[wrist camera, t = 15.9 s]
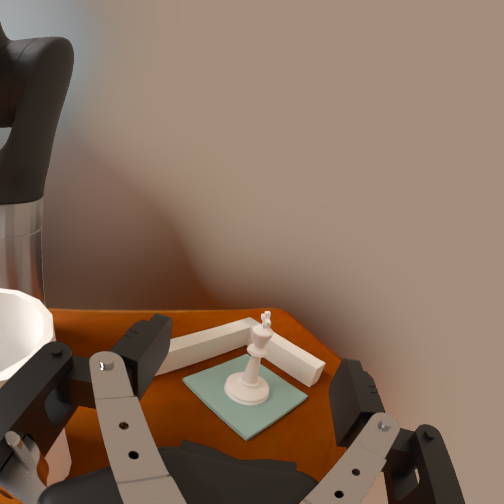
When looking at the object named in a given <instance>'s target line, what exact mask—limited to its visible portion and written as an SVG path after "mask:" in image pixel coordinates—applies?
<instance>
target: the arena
mask: <svg viewBox="0 0 504 504" xmlns="http://www.w3.org/2000/svg"><path fill="white" fill-rule="evenodd" d="M256 325H262V324H260V323H258V322H257V321H255V320H254V319H252V318H251V317H249V318H246V319H242V320H239V321H236V322H232V323H229V324H225V325H222V326H218V327H215V328H211V329H208V330H204V331H200V332H196V333H193V334H189V335H185V336H181V337H177V338H173V339H170V348H169V352H168V354H167V357H166V358H165V360H164V362H163V363H162V365H161V367H160V368H159V370H158V372H157V373H156V375H155V376H157V375H160V374H164V373H167V372H170V371H173V370H176V369H180V368H183V367H186V366H189V365H192V364H195V363H198V362H201V361H203V360H206V359H209V358H212V357H215V356H218V355H220V354H223V353H226V352H229V351H231V350H234V349H237V348H239V347H242V346H245V345H247V346H249V345H250V344H253V343H254V338H253V327H254V326H256ZM265 347H266V348H267V349H268V355H267V356H266V357H264V358H265V359H267V360H268V361H270V362H271V363H273V364H274V365H275V366H277V367H278V368H280V369H281V370H283V371H284V372H286V373H287V374H289V375H290V376H292V377H294V378H295V379H297V380H298V381H300V382H301V383H303V384H304V385H306V386H308V387H311V386H312V385H313V384H315V383H316V382H317V381H318V379H319V377H320V375H321V373H322V370H323V368H324V365H325V363H324V362H323V361H321V360H319V359H318V358H316V357H314V356H312V355H311V354H309V353H307V352H306V351H304V350H302V349H301V348H299V347H297V346H296V345H294V344H292V343H291V342H289V341H287V340H286V339H284V338H282V337H281V336H279V335H278V334H276V333H274V332H273V336H272V337H271V339H270V340H269V341H268V342H267V344H266V345H265ZM250 357H251V356H249V355H248V354H245V355H242V356H240V357H237V358H235V359H232V360H230V361H227V362H225V363H222V364H220V365H217V366H214V367H212V368H209V369H206V370H204V371H201V372H198V373H195V374H193V375H190V376H187V377H184V378H183V380H182V381H183V382H184V383H185V384H186V385H187V386H188V388H189V389H190V390H191V391H192V392H193V393H194V394H195V395H196V396H197V397H198V398H199V399H200V400H202V401H203V402H204V403H205V404H206V405H207V406H208V407H209V408H210V409H211V410H212V411H213V412H214V413H215V414H216V415H217V416H218V417H219V418H221V419H222V420H223V421H224V422H225V423H226V424H227V425H228V426H229V427H231V428H232V429H233V430H234V431H235V432H236V433H238V434H239V435H240V436H241V437H242V438H243V439H245V440H246V441H247V440H249V439H250V438H252V437H253V436H255V435H256V434H258V433H259V432H261V431H262V430H264V429H265V428H267V427H268V426H270V425H271V424H273V423H274V422H276V421H277V420H279V419H280V418H281V417H283V416H284V415H286V414H287V413H288V412H290V411H291V410H293V409H294V408H295V407H297V406H298V405H299V404H301V403H302V402H303V401H304V400H306V399H307V397H308V395H306V394H305V393H303V392H301V391H300V390H298V389H297V388H295V387H294V386H292V385H291V384H289V383H288V382H286V381H285V380H283V379H282V378H280V377H279V376H278V375H276V374H275V373H273V372H272V371H270V370H269V369H267V368H266V367H265V366H263V365H262V364H260V366H259V374H258V376H260V377H261V378H263V379H264V380H265V381H266V382H267V384H268V386H269V396H268V398H267V400H266V401H265V402H263V403H261V404H259V405H253V406H249V405H243V404H239V403H237V402H235V401H233V400H232V399H230V398H229V397H228V396H227V394H226V392H225V390H224V385H225V382H226V380H227V378H228V377H229V376H230V375H232V374H234V373H238V372H244V371H245V369H246V367H247V365H248V362H249V360H250Z"/></svg>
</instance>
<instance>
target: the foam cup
mask: <svg viewBox="0 0 504 504" xmlns="http://www.w3.org/2000/svg"><path fill="white" fill-rule="evenodd" d="M54 341H56V338H55V331H54V324H53V316H52V314H51V313H50V312H49V311H48V310H47V308H46V307H45V306H44V305H43V304H42V303H41V301H40V300H39V299H36V298H34V297H32V296H29V295H27V294H25V293H23V292H21V291H18V290H10V289H2V288H0V388H1V387H2V386H3V385H4V384H5V383H6V382H7V381H8V380H9V379H10V378H11V377H12V376H13V375H14V374H15V373H16V372H17V371H18V370H19V369H20V368H21V367H22V366H23V365H24V364H25V363H26V362H27V361H28V360H29V359H30V358H31V357H32V356H33V355H34V354H35V353H36V352H37V351H38V350H39V349H40V348H41V347H42V346H44V345H45V344H47V343H49V342H54ZM45 459H46V461H47V463H48V465H49V474H48V477H47V487H48V486H50V485H52V484H54V483H56V482H60V481H63V480H64V479H65V478H66V477H67V476H68V475H69V471H70V467H71V462H72V461H71V456H70V452H69V448H68V443H67V439H66V434H65V429H63V430H62V432H61V433H60V435H59V436H58V438H57V439H56V441H55V442H54V444H53V445H52V447H51V449H50V450H49V452H48V453H47V455H46V456H45Z"/></svg>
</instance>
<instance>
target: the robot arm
mask: <svg viewBox="0 0 504 504" xmlns="http://www.w3.org/2000/svg"><path fill="white" fill-rule="evenodd" d="M73 64H74V51H73V47H72V44H71V43H70V41H69V40H67V39H65V38H63V37H44V38H32V39H24V40H16V41H12V40H9V39H8V38H7V37H6V35H5V33H4V31H3V29H2V26H1V23H0V128H5V127H12V129H11V132H10V135H9V138H8V140H7V142H6V144H5V145H4V147H3V148H2V149H1V150H0V288H2V289H10V290H18V291H21V292H23V293H25V294H27V295H29V296H32V297H34V298H36V299H39V300H40V301H41V303H42V304H43V305H44V306H45V298H44V286H43V271H42V208H43V196H44V184H45V179H46V175H47V170H48V167H49V161H50V157H51V151H52V146H53V141H54V136H55V132H56V128H57V124H58V120H59V117H60V113H61V110H62V107H63V103H64V100H65V97H66V94H67V90H68V87H69V83H70V79H71V75H72V70H73ZM171 329H172V318H171V317H167V316H164V315H161V314H158V313H156V314H155V315H154V316H153V317H152V318H151V319H150V321H149V322H148V321H145V320H142V321H139V322H137V323H135V324H134V325H133V326H132V327H131V328H130V329H129V331H127V332H126V333H125V335H124V336H123V337H122V338H121V339H120V340H119V341H118V342H117V343H116V344H115V345H114V346H113V347H112V349H111V350H110V351H109V352H108V351H103V352H98V353H96V354H94V355H93V356H92V357H91V358H84V357H79V356H74V355H72V351H71V348H70V347H69V346H68V345H67V344H65V343H63V342H58V341H54V342H49V343H47V344H45V345H44V346H42V347H41V348H40V349H39V350H38V351H37V352H36V353H35V354H34V355H33V356H32V357H31V358H30V359H29V360H28V361H27V362H26V363H25V364H24V365H23V366H22V367H21V368H20V369H19V370H18V371H17V372H16V373H15V374H14V375H13V376H12V377H11V378H10V379H9V380H8V381H7V382H6V383H5V384H4V385H3V386H2V387H1V388H0V493H1V494H2V495H3V496H5V497H7V498H10V499H15V500H16V501H18V502H19V503H20V504H360V502H361V500H363V498H364V497H365V495H366V494H367V492H368V491H369V489H370V488H371V486H372V484H373V483H374V481H375V480H376V478H377V476H378V475H379V473H380V471H381V472H384V478H385V484H386V490H387V497H388V504H465V501H464V498H463V495H462V492H461V489H460V485H459V482H458V480H457V477H456V473H455V470H454V468H453V465H452V462H451V459H450V457H449V454H448V451H447V449H446V446H445V444H444V441H443V439H442V436H441V434H440V432H439V431H438V430H437V429H436V428H435V427H433V426H430V425H426V424H424V425H420V426H419V427H418V428H417V429H416V430H415V432H414V431H410V430H406V429H402V428H400V425H399V423H398V421H397V420H396V419H395V418H394V417H393V416H391V415H389V414H387V413H385V410H384V407H383V404H382V402H381V399H380V396H379V394H378V391H377V388H376V385H375V383H374V380H373V378H372V377H371V376H370V375H369V374H368V373H367V372H364V371H363V369H362V366H361V363H360V361H358V360H353V359H346V358H344V359H343V360H342V361H341V363H340V365H339V367H338V369H337V371H336V373H335V375H334V377H333V379H332V381H331V384H330V387H329V399H330V405H331V411H332V417H333V424H334V430H335V437H336V444H337V446H339V447H346V449H347V451H346V452H345V453H344V454H343V456H342V457H341V458H340V459H339V460H338V462H337V463H336V464H335V465H334V466H333V468H332V469H331V470H330V471H329V472H328V473H327V474H326V476H325V477H324V478H323V479H322V480H321V481H320V482H318V481H317V480H315V479H314V478H312V477H311V476H309V475H307V474H305V473H303V472H300V471H297V470H296V463H295V462H286V461H278V460H271V459H263V460H238V459H236V458H233V457H231V456H229V455H226V454H224V453H222V452H220V451H217V450H215V449H213V448H211V447H207V446H203V445H200V444H196V443H192V442H189V441H186V440H183V441H182V444H181V447H178V446H165V447H158V448H157V447H156V445H155V442H154V440H153V437H152V435H151V432H150V430H149V427H148V425H147V422H146V420H145V417H144V414H143V411H142V409H141V406H140V403H139V401H140V400H141V398H142V396H143V395H144V393H145V391H146V390H147V388H148V386H149V385H150V383H151V381H152V380H153V378H154V376H155V375H156V373H157V372H158V370H159V368H160V367H161V365H162V363H163V362H164V360H165V358H166V357H167V354H168V352H169V348H170V339H171ZM78 406H83V407H88V408H93V409H97V414H98V418H99V423H100V427H101V432H102V436H103V440H104V444H105V447H106V451H107V455H108V458H109V461H110V466H107V467H104V468H102V469H99V470H96V471H93V472H90V473H87V474H84V475H80V476H77V477H74V478H70V479H67V480H63V481H60V482H56V483H54V484H52V485H50V486H48V487H47V477H48V474H49V465H48V463H47V461H46V459H45V456H46V455H47V453H48V452H49V450H50V449H51V447H52V445H53V444H54V442H55V441H56V439H57V438H58V436H59V435H60V433H61V432H62V430H63V429H64V427H65V426H66V424H67V423H68V421H69V420H70V418H71V417H72V415H73V414H74V412H75V411H76V409H77V408H78ZM416 469H418V473H419V478H420V480H419V484H418V482H417V478H416V474H415V470H416Z"/></svg>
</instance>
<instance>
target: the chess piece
mask: <svg viewBox="0 0 504 504" xmlns="http://www.w3.org/2000/svg"><path fill="white" fill-rule="evenodd" d="M270 315H271V313H270V311H265V314H262V315H261V319H262V325H256V326H254V327H253V338H254V343H253V344H250V345H249V346H248V348H247V351H248V353H249V354H250V355H251V357H250V360H249V362H248V365H247V367H246V369H245V371H244V372H238V373H234V374H232V375H230V376H229V377H228V378H227V380H226V382H225V385H224V390H225V392H226V394H227V396H228V397H229V398H230V399H232V400H233V401H235V402H237V403H239V404H243V405H249V406H253V405H259V404H261V403H263V402H265V401H266V400H267V398H268V396H269V386H268V384H267V382H266V381H265V380H264V379H263V378H261V377H260V376H258V374H259V366H260V360H261V358H263V357H266V356H267V355H268V349H267V348H266V347H265V345H266V344H267V342H268V341H269V340H270V339H271V337H272V336H273V330H272V329H271V328H270V326H271V321H270V320H269V319H270Z"/></svg>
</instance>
